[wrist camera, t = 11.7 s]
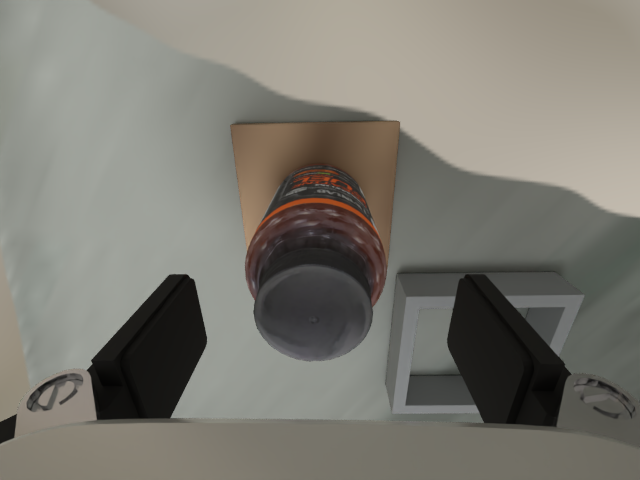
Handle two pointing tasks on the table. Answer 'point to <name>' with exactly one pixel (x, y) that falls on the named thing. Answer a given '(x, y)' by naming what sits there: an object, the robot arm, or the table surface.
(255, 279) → the supplement bottle
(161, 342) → the robot arm
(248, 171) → the tan mat
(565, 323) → the parts bin
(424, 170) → the table surface
